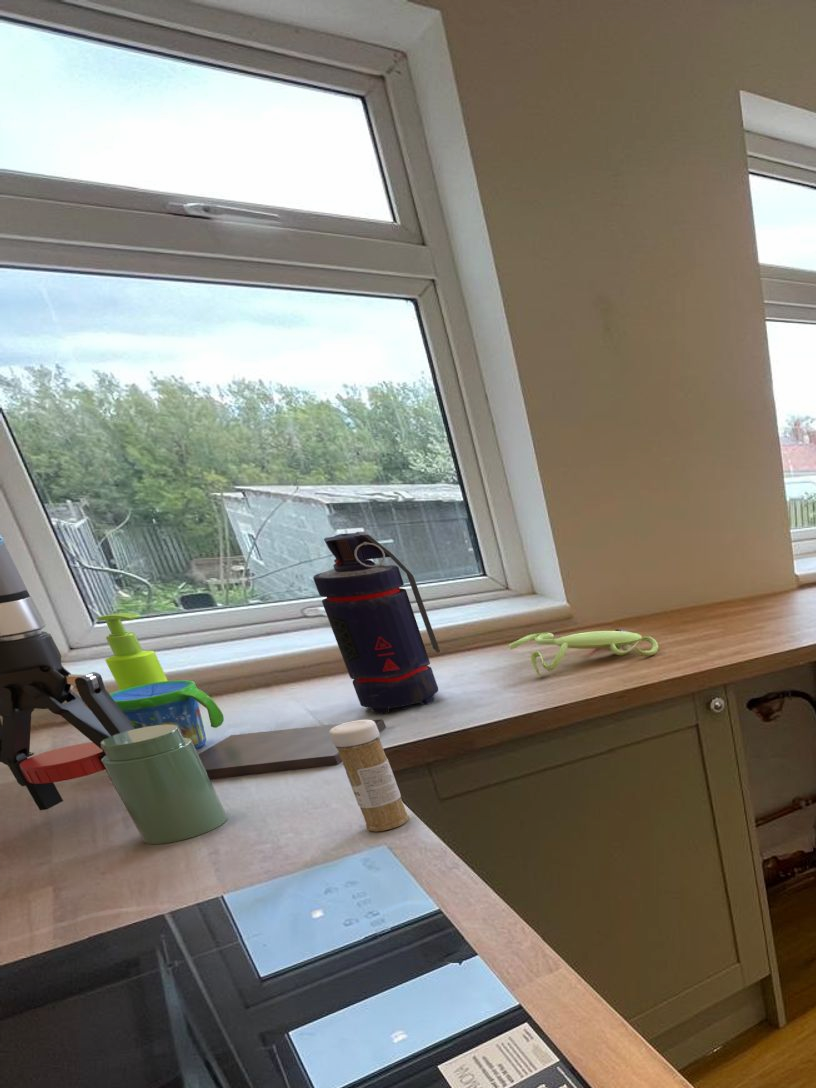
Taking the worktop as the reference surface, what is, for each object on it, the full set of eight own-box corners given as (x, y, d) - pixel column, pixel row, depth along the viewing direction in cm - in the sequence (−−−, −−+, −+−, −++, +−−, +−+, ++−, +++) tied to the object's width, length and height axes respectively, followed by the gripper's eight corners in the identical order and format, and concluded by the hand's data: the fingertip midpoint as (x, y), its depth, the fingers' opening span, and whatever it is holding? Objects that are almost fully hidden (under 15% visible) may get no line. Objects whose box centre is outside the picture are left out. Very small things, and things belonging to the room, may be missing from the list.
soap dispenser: (171, 734, 137) (115, 618, 129) (131, 735, 137) (73, 619, 129) (203, 721, 142) (151, 609, 134) (165, 722, 143) (111, 611, 135)
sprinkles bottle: (364, 824, 102) (325, 725, 97) (407, 812, 105) (371, 715, 100) (370, 836, 99) (330, 735, 94) (414, 823, 102) (377, 724, 97)
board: (165, 784, 117) (161, 774, 116) (234, 743, 131) (231, 735, 131) (337, 764, 121) (334, 755, 121) (386, 727, 136) (383, 718, 135)
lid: (83, 780, 103) (75, 763, 102) (7, 787, 102) (-3, 770, 101) (138, 754, 111) (131, 738, 110) (68, 760, 110) (59, 744, 109)
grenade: (366, 719, 140) (300, 542, 128) (359, 703, 148) (296, 536, 136) (458, 699, 148) (404, 531, 136) (446, 685, 156) (395, 526, 144)
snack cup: (253, 734, 135) (228, 676, 131) (198, 760, 125) (169, 698, 121) (157, 740, 134) (129, 681, 130) (95, 766, 125) (62, 704, 121)
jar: (126, 848, 99) (74, 751, 94) (171, 819, 106) (125, 727, 101) (202, 838, 100) (155, 742, 95) (241, 810, 108) (199, 719, 103)
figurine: (513, 660, 171) (505, 634, 169) (645, 637, 184) (640, 613, 182) (520, 681, 157) (512, 653, 155) (663, 655, 170) (658, 628, 168)
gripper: (-135, 653, 94) (-30, 825, 103) (82, 635, 98) (165, 801, 107) (-73, 637, 101) (21, 799, 110) (128, 621, 105) (202, 779, 114)
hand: (92, 800), depth 109 cm, fingers closed on lid, 8 cm apart
